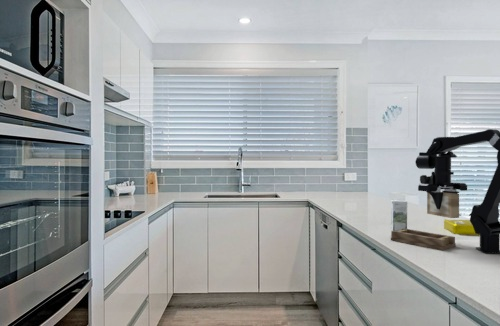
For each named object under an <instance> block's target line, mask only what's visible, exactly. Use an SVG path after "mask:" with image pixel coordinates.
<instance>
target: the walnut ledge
mask: <svg viewBox="0 0 500 326" xmlns="http://www.w3.org/2000/svg"><path fill="white" fill-rule="evenodd" d="M390 232H391V236H390V241H394V242H398V243H404V244H409V245H414V246H418V247H419V246H420V247H424V248H427V249H433V250H439V251H445V250H448V249H452V248H454V247H456V246H457V245H456V236H454V235H453V236H452V235H447V234H446V235H445V234H440V233H433V232H429V231H421V230H414V229H408V228H407V229H402V230H400V231H390Z"/></svg>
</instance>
